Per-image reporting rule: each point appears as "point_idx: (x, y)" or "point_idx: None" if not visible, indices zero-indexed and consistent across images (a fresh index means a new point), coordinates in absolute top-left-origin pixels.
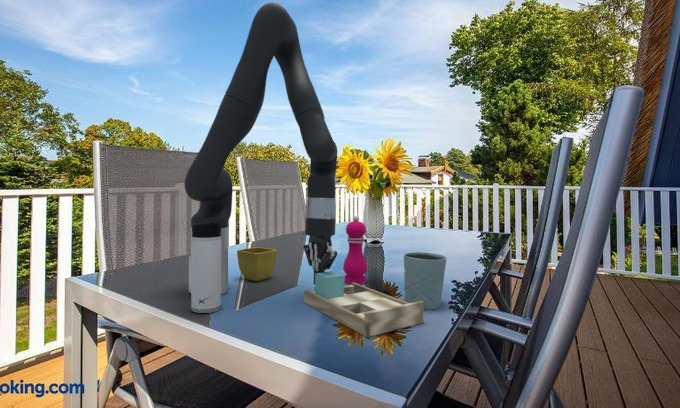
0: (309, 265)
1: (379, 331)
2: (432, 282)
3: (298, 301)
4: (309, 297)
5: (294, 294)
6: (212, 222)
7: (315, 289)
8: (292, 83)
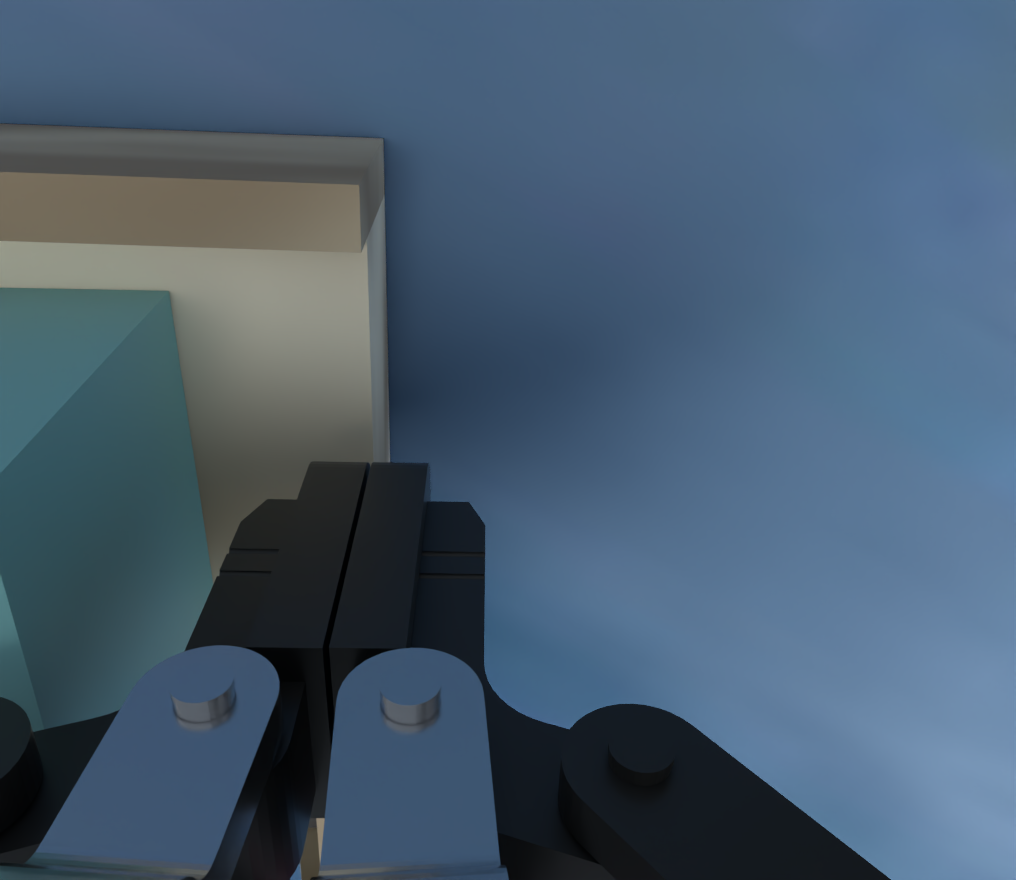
0: (652, 709)
1: None
2: None
3: (480, 81)
4: (149, 156)
5: (866, 227)
6: None
7: (110, 322)
8: None
